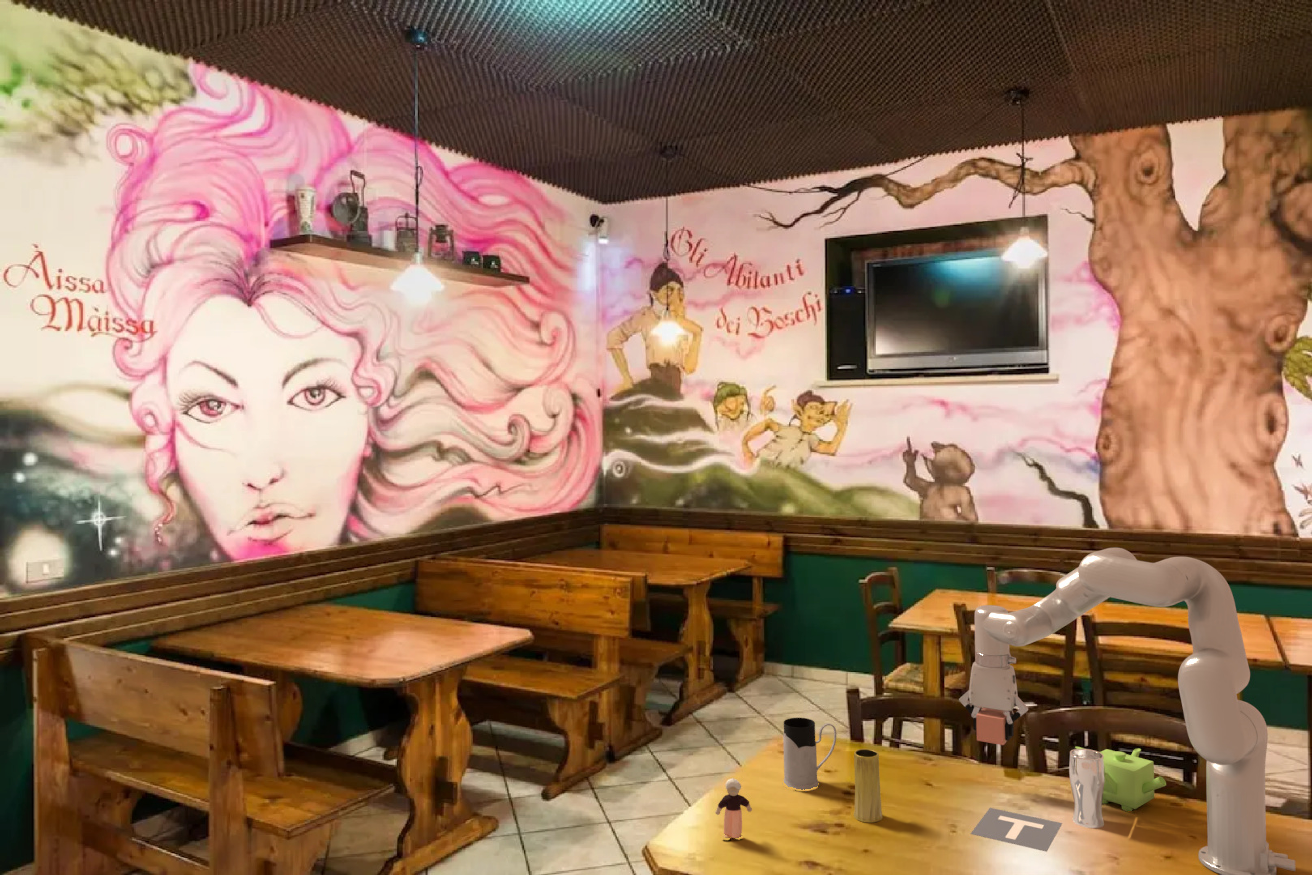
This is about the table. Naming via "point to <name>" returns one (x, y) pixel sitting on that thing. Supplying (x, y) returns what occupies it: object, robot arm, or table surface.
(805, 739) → the grey and black mug
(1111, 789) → the kettle
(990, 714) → the block
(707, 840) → the table surface
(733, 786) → the grandmother figurine
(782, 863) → the table surface
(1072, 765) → the beer glass
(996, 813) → the board
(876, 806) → the vase
